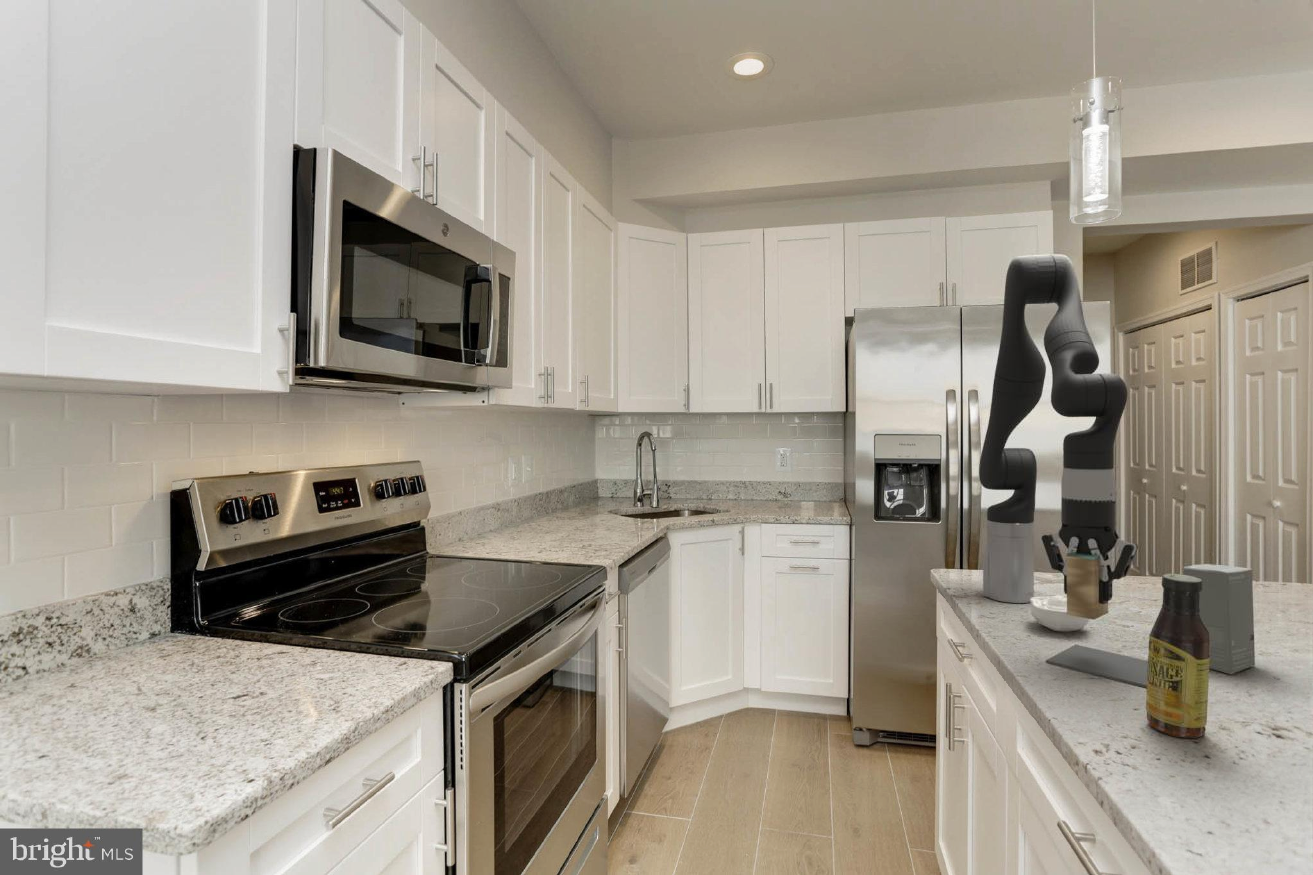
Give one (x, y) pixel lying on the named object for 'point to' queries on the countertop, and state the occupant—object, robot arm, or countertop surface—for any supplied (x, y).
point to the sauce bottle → (1178, 661)
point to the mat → (1103, 664)
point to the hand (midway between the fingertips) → (1087, 599)
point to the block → (1084, 586)
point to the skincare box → (1227, 614)
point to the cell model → (1055, 614)
